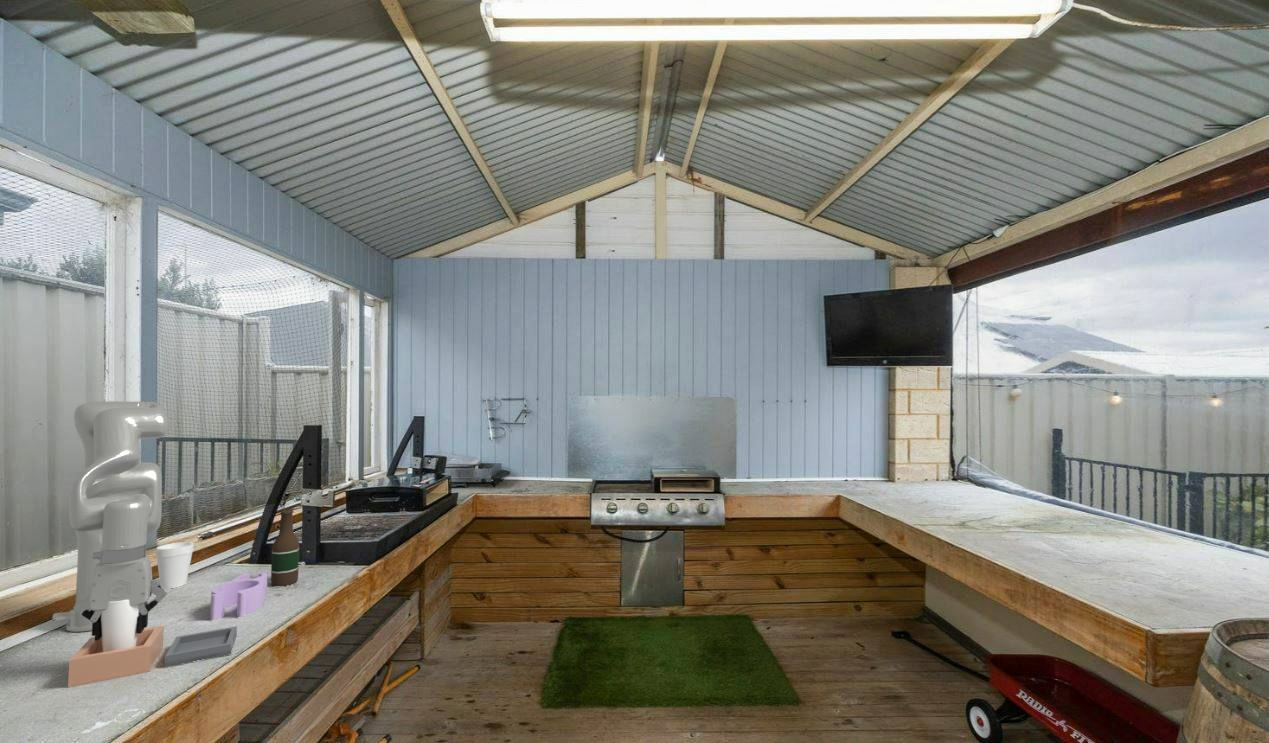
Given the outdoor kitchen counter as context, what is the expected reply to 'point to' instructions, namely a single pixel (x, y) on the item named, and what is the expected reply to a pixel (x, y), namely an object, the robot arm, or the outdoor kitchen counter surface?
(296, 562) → the beer bottle
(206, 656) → the charcoal tray
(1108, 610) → the outdoor kitchen counter surface
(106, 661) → the terracotta holder
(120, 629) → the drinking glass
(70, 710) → the outdoor kitchen counter surface
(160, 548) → the foam cup
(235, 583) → the clip
